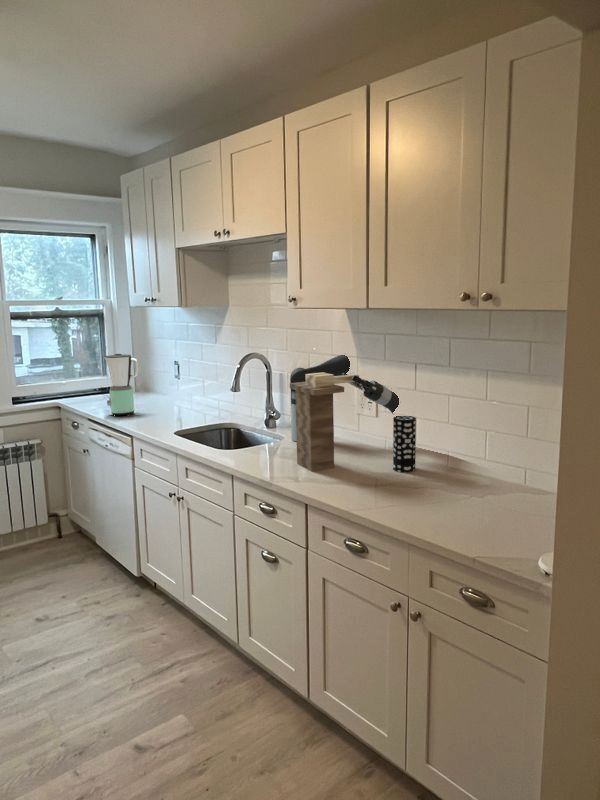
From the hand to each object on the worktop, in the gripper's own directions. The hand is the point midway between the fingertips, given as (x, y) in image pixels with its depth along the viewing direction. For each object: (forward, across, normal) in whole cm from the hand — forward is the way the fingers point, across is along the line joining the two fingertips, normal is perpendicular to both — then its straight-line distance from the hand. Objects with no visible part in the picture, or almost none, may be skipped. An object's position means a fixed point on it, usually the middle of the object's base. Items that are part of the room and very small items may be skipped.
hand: (347, 376), depth 236 cm
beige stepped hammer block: (+4, 0, +5) cm, 7 cm away
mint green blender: (+35, -149, +60) cm, 164 cm away
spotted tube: (-27, +22, +24) cm, 42 cm away
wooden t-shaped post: (-5, 0, +37) cm, 37 cm away
